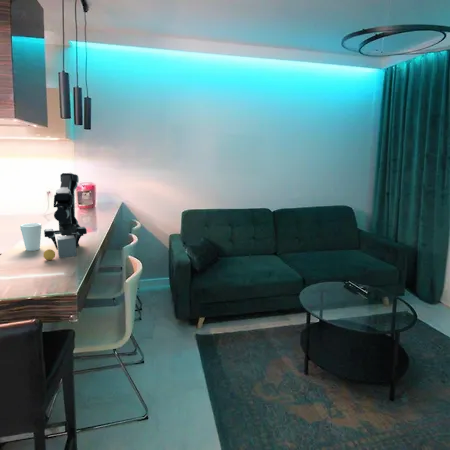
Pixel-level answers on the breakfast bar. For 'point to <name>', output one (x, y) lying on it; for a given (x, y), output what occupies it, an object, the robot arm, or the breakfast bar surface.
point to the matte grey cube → (66, 246)
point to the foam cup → (31, 235)
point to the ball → (49, 254)
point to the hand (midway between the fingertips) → (66, 248)
